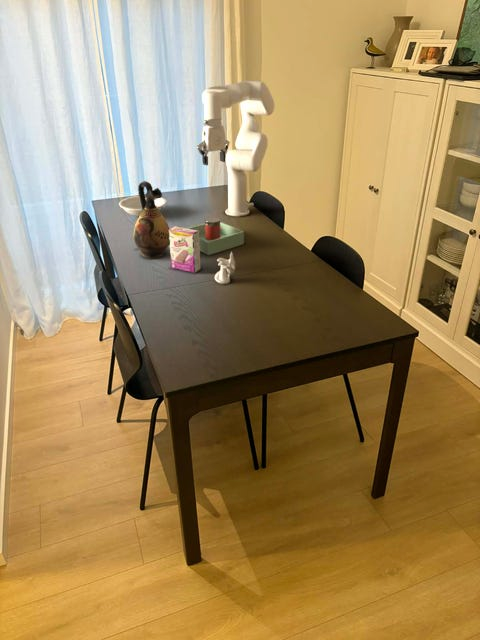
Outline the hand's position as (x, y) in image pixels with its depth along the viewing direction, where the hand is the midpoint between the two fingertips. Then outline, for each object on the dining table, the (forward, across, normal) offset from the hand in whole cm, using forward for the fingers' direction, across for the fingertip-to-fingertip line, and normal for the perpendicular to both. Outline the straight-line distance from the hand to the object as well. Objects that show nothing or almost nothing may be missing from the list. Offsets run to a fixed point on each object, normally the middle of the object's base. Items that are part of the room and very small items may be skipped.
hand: (214, 163), depth 221 cm
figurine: (+31, -33, -50) cm, 67 cm away
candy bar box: (+31, -38, -30) cm, 57 cm away
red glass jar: (+30, -13, -15) cm, 36 cm away
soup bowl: (+31, -17, +38) cm, 52 cm away
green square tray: (+30, -13, -15) cm, 36 cm away
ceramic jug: (+31, -40, -8) cm, 51 cm away
